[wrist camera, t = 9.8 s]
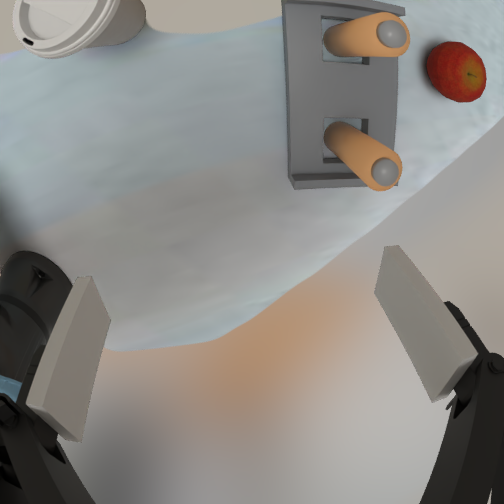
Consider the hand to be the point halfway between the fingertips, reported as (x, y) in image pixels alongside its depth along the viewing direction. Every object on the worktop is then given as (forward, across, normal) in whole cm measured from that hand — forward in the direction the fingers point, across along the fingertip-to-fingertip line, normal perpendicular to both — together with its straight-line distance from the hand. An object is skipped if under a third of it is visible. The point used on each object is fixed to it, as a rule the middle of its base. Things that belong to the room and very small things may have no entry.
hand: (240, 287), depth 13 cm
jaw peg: (+25, +14, 0) cm, 28 cm away
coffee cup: (+26, -11, +17) cm, 33 cm away
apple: (+24, +28, +11) cm, 39 cm away
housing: (+25, +14, +6) cm, 29 cm away
